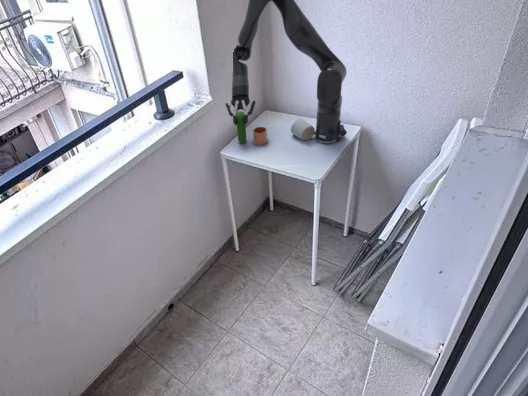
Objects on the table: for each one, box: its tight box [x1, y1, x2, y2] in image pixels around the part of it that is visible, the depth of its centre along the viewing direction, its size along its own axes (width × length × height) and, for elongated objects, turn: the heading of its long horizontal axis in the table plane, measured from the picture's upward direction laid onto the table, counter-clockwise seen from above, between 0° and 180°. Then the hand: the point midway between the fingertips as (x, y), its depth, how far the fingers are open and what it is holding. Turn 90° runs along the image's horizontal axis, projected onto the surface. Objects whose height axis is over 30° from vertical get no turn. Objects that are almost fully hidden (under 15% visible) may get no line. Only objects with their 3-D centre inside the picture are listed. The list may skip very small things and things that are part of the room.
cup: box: [252, 126, 268, 146], centre depth 166 cm, size 6×6×6 cm
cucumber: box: [236, 110, 247, 144], centre depth 165 cm, size 4×4×15 cm
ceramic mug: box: [290, 118, 316, 141], centre depth 163 cm, size 11×8×8 cm
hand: (240, 124), depth 162 cm, fingers closed on cucumber, 4 cm apart
